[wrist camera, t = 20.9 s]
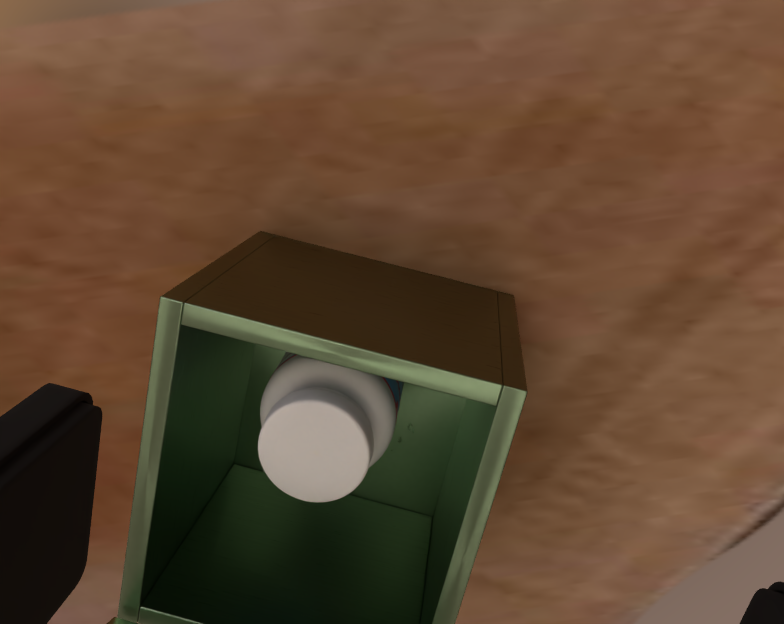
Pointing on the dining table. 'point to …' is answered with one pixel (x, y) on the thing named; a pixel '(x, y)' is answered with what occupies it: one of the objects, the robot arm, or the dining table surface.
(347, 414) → the pill bottle
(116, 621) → the bin lid
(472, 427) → the waste bin
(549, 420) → the dining table surface
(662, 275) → the dining table surface
